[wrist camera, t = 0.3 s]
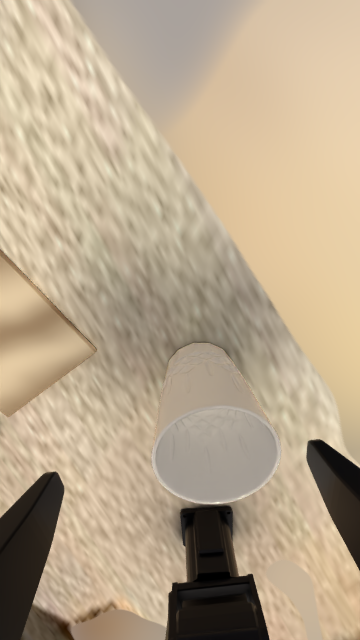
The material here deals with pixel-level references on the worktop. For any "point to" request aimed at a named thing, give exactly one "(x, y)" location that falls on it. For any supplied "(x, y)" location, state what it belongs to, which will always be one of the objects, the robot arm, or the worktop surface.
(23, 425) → the worktop surface
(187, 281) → the worktop surface
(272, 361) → the worktop surface
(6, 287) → the board
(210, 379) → the white cup
